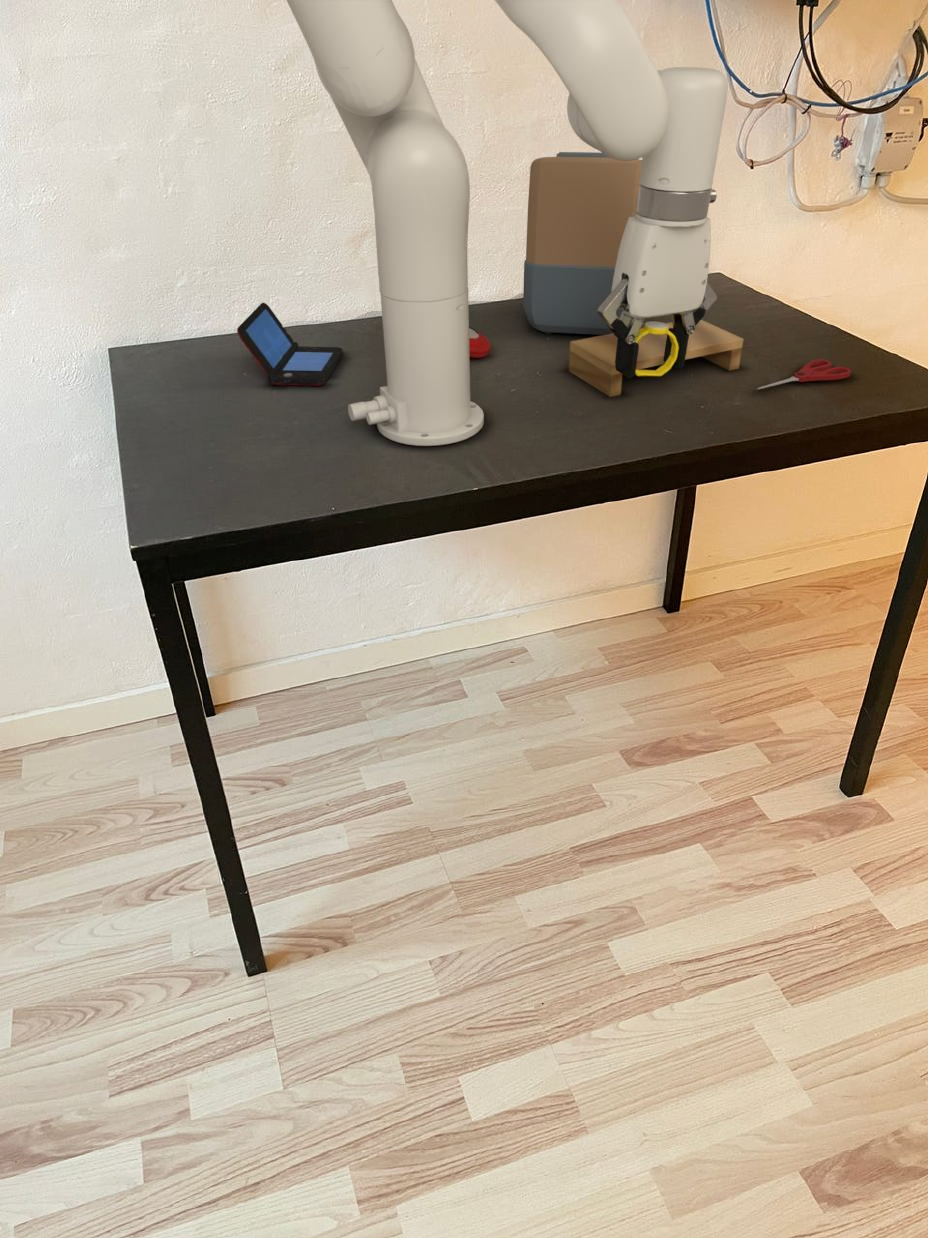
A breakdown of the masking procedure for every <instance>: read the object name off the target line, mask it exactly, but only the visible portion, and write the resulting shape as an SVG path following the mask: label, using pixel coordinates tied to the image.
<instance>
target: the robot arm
mask: <svg viewBox="0 0 928 1238" xmlns="http://www.w3.org/2000/svg"><path fill="white" fill-rule="evenodd" d="M286 2H287V4H288V6H289V8H290V10H291V12H292V15H293V17H294V18H295V21H296V23H297V25H298V28H299V29H300V32H301V34H302V35H303V38H304V40H305V42H306V44H307V47H308V48H309V51H310V54H311V57H312V58H313V61H314V65H315V69H316V72H317V75H318V78H319V80H320V82H321V85H322V86H323V87H324V89H325V90H326V92H327V93H328V94H329V96H330V98H331V101H332V102H333V104H334V106H335V109H336V111H337V113H338V115H339V117H340V119H341V121H342V123H343V125H344V127H345V129H346V131H347V133H348V135H349V138H350V139H351V141H352V143H353V145H354V147H355V149H356V151H357V153H358V155H359V157H360V159H361V162H362V163H363V166H364V167H365V170H366V171H367V174H368V175H369V181H370V185H371V194H372V202H373V212H374V229H375V245H376V246H375V247H376V259H377V273H378V286H379V287H378V290H379V293H380V304H381V305H380V306H381V319H382V332H383V345H384V359H385V372H386V384H387V385H384V386H380V387H379V395H377V396H373V399H372V400H367V401H358V402H354V403H353V402H352V403H349V404H348V405H347V413H348V416H349V419H350V420H351V422H355V421H360V420H366V422H367V424H368V425H369V426H371V425H376V427H377V430H378V432H379V433H380V434H381V435H382V436H383V437H384V438H387V439H389V440H390V441H393V442H395V443H398V444H404V445H409V446H416V447H437V446H445V445H451V444H455V443H459V442H462V441H465V440H468V439H469V438H471V437H473V436H475V435H476V434H477V433H479V432H480V430H481V429H483V427H484V424H485V414H484V411H483V409H482V408H481V407H480V406H479V405H478V404H477V403H475V402H474V401H471V370H470V369H471V367H470V366H471V365H470V364H471V362H470V361H471V360H470V359H471V357H470V354H469V327H470V317H469V316H470V311H469V310H470V306H469V279H468V278H469V276H468V275H469V274H468V273H469V271H468V270H469V269H468V268H469V267H468V239H469V238H468V237H469V221H470V220H469V218H470V201H471V190H470V189H471V186H470V174H469V168H468V164H467V161H466V157H465V155H464V152H463V150H462V148H461V146H460V144H459V142H458V141H457V139H456V138H455V137H454V135H452V133H451V132H450V131H449V129H447V128H446V127H445V124H444V123H443V121H442V119H441V116H440V114H439V111H438V109H437V106H436V104H435V102H434V100H433V97H432V95H431V92H430V90H429V87H428V85H427V84H426V81H425V78H424V76H423V74H422V71H421V69H420V67H419V64H418V62H417V60H416V56H415V53H416V52H415V48H414V44H413V43H414V42H413V39H412V37H411V34H410V31H409V29H408V27H407V25H406V24H405V22H404V20H403V18H402V17H401V15H400V14H399V12H398V10H397V8H396V5H395V4H394V2H393V0H286ZM494 2H496V4H497V5H498V7H499V8H500V10H502V12H503V13H504V14H505V16H506V17H507V19H509V21H511V22H512V23H513V24H514V25H515V26H516V27H517V29H519V30H520V31H521V32H522V33H524V34H525V35H526V36H527V38H528V39H530V40H531V41H532V43H533V44H534V45H535V46H536V47H537V48H538V49H539V50H540V52H541V53H542V54H543V55H544V57H545V58H546V60H547V61H548V62H549V64H550V65H551V67H552V68H553V69H554V71H555V72H556V74H557V75H558V77H559V78H560V81H561V82H562V83H563V85H564V87H565V88H566V89H567V91H568V97H567V102H566V112H567V118H568V122H569V125H570V127H571V129H572V131H573V133H574V134H575V135H576V136H577V137H578V138H579V139H580V140H581V141H582V142H583V143H585V144H586V145H588V146H590V148H593V149H595V150H597V151H598V152H600V153H603V154H605V155H607V156H608V157H610V158H612V159H615V160H619V161H632V160H637V159H639V160H640V159H641V160H642V165H641V174H640V184H639V190H638V198H637V206H636V215H635V216H634V217H629V219H628V221H627V224H626V227H625V230H624V233H623V236H622V240H621V244H620V247H619V252H618V256H617V261H616V266H615V271H614V277H613V284H612V291H611V293H610V295H609V296H608V297H607V298H606V299H605V301H604V302H603V303H602V304H601V305H600V306H599V308H598V310H597V313H598V314H599V315H600V317H601V318H602V319H603V320H604V322H606V323H607V326H608V327H609V328H610V329H611V331H612V332H613V333H614V336H615V337H617V338H618V341H617V349H616V358H615V368H616V370H617V371H618V372H620V373H622V376H625V377H627V378H629V379H630V378H634V377H635V376H636V374H635V372H636V365H637V357H638V350H639V345H638V343H636V342H635V339H636V337H637V335H638V333H639V331H640V329H641V328H642V326H643V324H644V322H645V320H646V319H650V318H658V317H665V316H670V319H671V322H672V324H673V328H669V331H670V332H671V333H672V334H673V335H675V337H676V340H677V343H678V347H679V349H678V355H677V358H676V361H675V363H674V364H673V366H672V367H673V368H674V369H677V370H683V369H684V367H685V361H686V360H685V356H686V351H687V345H688V339H689V335H691V334H693V333H694V331H695V326H696V325H697V324H698V322H699V321H700V320H703V319H704V317H705V315H706V312H707V311H709V309H710V308H711V307H712V306H713V305H714V304H715V302H716V301H717V299H718V295H717V293H716V292H715V291H714V289H713V288H712V286H711V285H710V283H709V282H708V278H709V277H708V276H709V270H710V259H711V243H712V239H711V238H712V237H711V236H712V235H711V233H712V232H711V231H712V230H711V229H712V227H711V218H710V217H708V215H709V207H710V204H713V203H715V202H716V199H717V197H718V196H717V191H716V189H713V188H712V187H713V183H714V178H715V177H714V176H715V171H716V164H717V159H718V152H719V146H720V140H721V135H722V130H723V122H724V116H725V111H726V105H727V100H728V99H727V98H728V91H729V83H728V79H727V77H726V75H725V73H724V72H722V71H720V70H717V69H713V68H707V67H694V66H675V67H673V66H672V67H667V68H664V69H657V67H656V65H655V63H654V61H653V60H652V58H651V55H650V53H649V52H648V50H647V48H646V45H645V44H644V42H643V40H642V38H641V37H640V35H639V32H638V31H637V29H636V27H635V24H633V21H632V19H631V18H630V17H629V15H628V13H627V11H626V10H625V8H624V7H623V5H622V3H621V1H620V0H494ZM617 309H623V311H622V314H621V316H620V318H618V316H617V314H616V311H617ZM631 318H633V319H632V321H631V324H630V326H629V328H628V325H629V323H630V320H631ZM671 347H672V343H671V340H670V337H669V335H668V334H667V339H666V345H665V352H664V359H663V360H664V362H666V361H667V359H668V358H669V356H670V354H671Z"/></svg>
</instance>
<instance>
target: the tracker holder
mask: <svg viewBox="0 0 928 1238" xmlns="http://www.w3.org/2000/svg"><path fill="white" fill-rule="evenodd" d="M490 351H491V343H490V341H489V339H487V338H486V336H485V335H483V334H482V333H480V332H479V331H478V330H476V329H474V328H472V327H471V326H469V354H470V358H472V359H480V358H485V357H486V356H488V355H489V353H490Z"/></svg>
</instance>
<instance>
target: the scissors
mask: <svg viewBox="0 0 928 1238" xmlns="http://www.w3.org/2000/svg"><path fill="white" fill-rule="evenodd" d="M851 373H852V370H851V369H850V368H847V367H844V366H834V367H832V362H831V361H830V360H828V359H823V358H819V359H813V360H811V361H809V362H807V363H806V364H804V365H803V367H801V368H800V369H799V370H798V371H796V372H795V373H794V374H793V375H792V376H790V377H788V378H786V379H783V380H780V381H779V380H778V381H776V382H772V383H769V384H767V385H762V386H760V387H756V390H761V389H766V388H770V387H775V386H778V385H782V384H785V383H789V382H797V383H806V382H820V381H837V380H838V381H839V380H843V379H847V378H849V377H850V376H851Z"/></svg>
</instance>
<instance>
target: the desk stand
mask: <svg viewBox="0 0 928 1238" xmlns="http://www.w3.org/2000/svg"><path fill="white" fill-rule="evenodd" d="M664 323H665V324H667V325H668V326H669V328H673V324H672V321H670V322H664ZM642 328H643V327H641V329H642ZM666 339H667V333H666V334H661V335H659V334H651V333H649V334H647V335H645V336H643V337H641V339H640V340H639V341H638V342H637V343H638V345H639V350H638V357H637V365H636V370H644V369H647V368H654V367H657V366H662V365H664V364H665V362H664V360H663V359H664V352H665V345H666ZM617 341H618V338H617V337H615V336H614V333H612V334H607V335H597V336H591V337H587V338H581V339H577V340H570V342H569V357H568V358H569V359H568V372H569V373H571V374H573V375H574V376H576V377H577V378H579V379H580V380H582V381H584V382H585V383H587V384H588V385H590V386H592V387H593V388H595V389H596V390H598V391H600V392H601V393H603V394H604V395H606V396H608V397H609V398H612V397H617V396H621V394H622V385H623V384H622V383H623V374H622V373H620V372H618V371H617V370H616V368H615V358H616V349H617ZM743 344H744V338H743V337H741V336H738V335H736V334H734V333H731V332H729V331H727V330H726V329H722V328H720V327H718V326H716V325H714V324H712V323H709V322H707V321H705V320H703V319H701V320H700V321H699V322H698V324H697V325H696V326H695V331H694V333H693V334H691V335H689V339H688V345H687V351H686V356H685V361H686V360H690V359H694V358H703V359H705V360H707V361H709V362H711V363H713V364H714V365H717V366H719V367H721V368H723V369H725V370H727V371H735V370H738V369H740V363H741V357H742V352H743V351H742V350H743V346H744V345H743Z"/></svg>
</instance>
